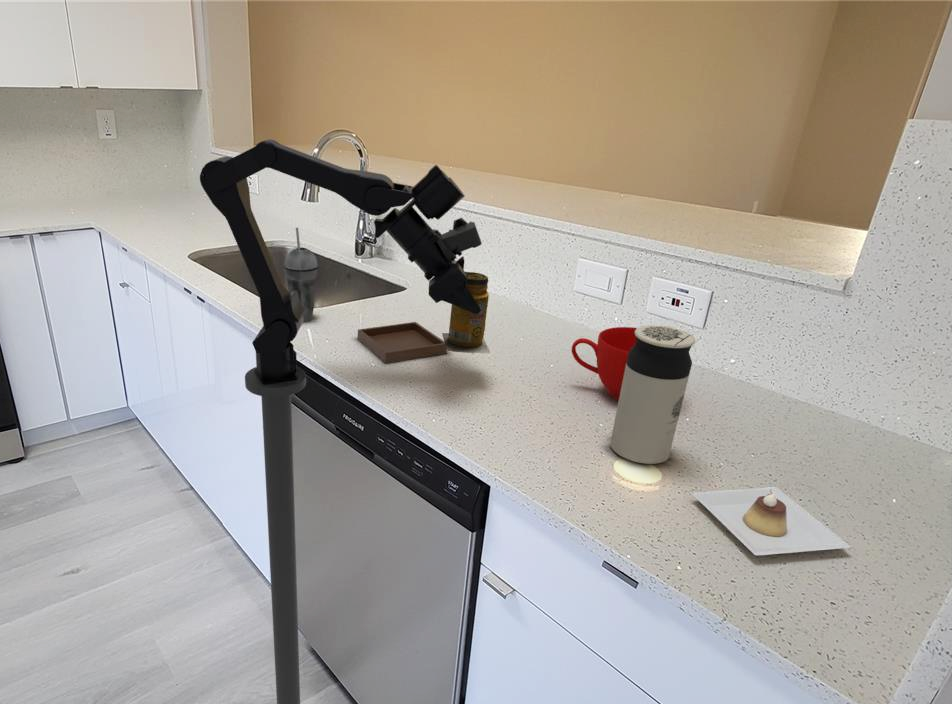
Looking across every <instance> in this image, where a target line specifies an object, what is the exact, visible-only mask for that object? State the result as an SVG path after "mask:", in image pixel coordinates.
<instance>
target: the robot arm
mask: <svg viewBox="0 0 952 704" xmlns="http://www.w3.org/2000/svg"><path fill="white" fill-rule="evenodd" d="M264 169H272V170H273V171H277V172H279V173H282V174H284V175H287V176H290V177H293V178H296V179H297V180H301V181H304V182H307V183H308V184H311V185H314V186H317V187H319V188H321V189H325V190H327V191H330V192H332V193H334V194H337V195H339V196H340V197H342V198H343V199H344V200H346V201H347V202H348V203H350V204H351V205H353V206H354V207H356V208H357V209H359V210H361V211H362V212H364V213H366V214H368V215H370V216H374V217H375V216H381V215H383V214H386V213H387V212H388V213H387V214H386V215H385V216H384V217H383V218H375V219H374V221H373V224H374V238H376V239H379V238H380V237H381V236H382V235H383V234H384V233H385V232H387V233H388V235H389V236H390V237H391V238H392V239H393V240H394V241H395V242H396V244H397V245H398V246H399V247H400V248H401V249H402V250H403V252H405V254H406V255H407V259H408V261H410V262H411V263H414V264H415V265H416V266H417V267H418V268H419V269H420V270H421V271H422V272H423V274H424V275H423V276H424V278H425V279H426V280H427V281H428V296H429V297H430V298H431V299H432V300H433V301H434V303H435V304H438V303H439V302H445V303H447V304H451V306H452V305H455V306H457V307H460V308H462V309H465V310H467V311H469V312H472V313H474V314H478V313H479V312H481V309H480V307H479V305H478V304H477V302H476V300H475V299H474V297H473V295H472V294H471V292H470V291H469V289H468V287H467V286H466V284H467V277H468V276H467V272H468V271H465V258H464V256H462V255H463V252H464V251H467V250H469V249H472V248H473V249H475V248H478V247H479V246H482V240H481V238H480V234H479V232H478V229H477V227H476V226H477V225H476V223H475V221H469V222H467V220H465V219H464V218H463V217H459V218H457V219H454V220H453V222H452V223H453V224H452V229H449V230H448V231H447V232H444V233H441V232H440V230H438V229H436V228H432V227H431V226H430V224H428V223H427V221H426V220H428V221H429V220H434V219H436V220H440V219H441V218H442V217H444V216H445V215H446V214H447V213H448V212H449V211H450V210H452V209H453V208H454V207H455V206H456V205H457V204H458V203H459V202H461V201H462V200H463V199H464V198H465V197H466V196H465V194H464V193H463V191H462V190H461V188H460V187H459V186H458V185H457V184H456V182H455V181H454V180H453V179H452V178H451V177H450V176H448V175H447V174H446V173H445V171H443V170H442V169H441V168H440V167H439V165H438V164H434V165H433V166H432V167H431V168H430V169H429V170H428V172H427V173H426V174H425V175H424V176H423V177H422V178H421V179H420V180H419V181H418V182H417V183H415V185H408V184H404V183H403V184H402V183H398V182H393V180H392V179H391V178H390V177H389V176H387V175H385V174H382V173H377V172H372V171H367V170H361V169H360V170H358V169H351V168H346V167H342V166H339V165H337V164H333V163H331V162H329V161H326V160H323V159H321V158H319V157H316V156H313V155H310V154H308V153H305V152H302V151H300V150H297V149H295V148H292V147H289V146H286V145H284V144H281V143H280V142H278V141H277V140H275V139H270V138H269V139H264V140H262V141H260V142H258V143H257V144H256V145H255V146H253V147H251V148H249V149H247V150H246V151H243V152H242V153H240V154H239V153H238V155H235V156H234V157H232V156H222V157H219V158H216V159H213V160H210V161H208V162H207V163H205V165H204V166H202V168H201V172H200V174H199V182H200V186H201V188H202V189H203V191H204V192H205V194H206V195H207V197H208V198H209V200H210V202H211V204H212V205H213V206H214V207H215V208H216V209H217V210H218V211H219V212H220V213H221V215H222V216H223V217H224V218H225V220H226V221H227V224H228V226H229V229H230V231H231V233H232V235H233V237H234V241H235V243H236V245H237V247H238V249H239V252H240V254H241V257H242V259H243V261H244V264H245V266H246V269H247V271H248V273H249V275H250V278H251V280H252V282H253V285H254V288H255V289H256V291H257V294H258V298H259V305H260V316H261V321H262V324H263V325H262V327H261V329H260V330H259V332H258V333H257V335H256V336H255V337H254V339H253V341H252V344H251V345H252V346H253V348H254V350H255V360H256V361H255V365H256V366H255V367H257V369H254V372H255V374H256V375H257V377H258V378H259V380H260V381H261V383H262V384H263V385H267V384H273V383H280V382H286V381H292V380H297V376H296V374H295V373H296V372H297V367H298V363H297V361H298V360H297V352H296V350H295V349H294V344H293V343H292V341H293V340H295V338H296V337H297V335H298V332H300V329H301V327H302V325H303V323H304V322H303V319H304V316H303V313H304V311H305V308H304V307H303V306H302V305H301V303H300V300H299V296H298V292H297V290H295V291H293V292H291V293H289V291H288V289H287V288H286V287H285V286H284V284H283V283H282V280H281V277H280V275H279V273H278V271H277V268H276V265H275V263H274V261H273V258H272V256H271V254H270V252H269V249H268V246H267V244H266V242H265V239H264V237H263V235H262V232H261V230H260V227H259V224H258V222H257V219H256V218H255V215H254V212H253V210H252V205H251V195H250V185H249V181H248V178H249V177H251V176H253V175H255V174H257V173H259V172H261V171H263V170H264ZM414 206H415V207H416V208H417V209H418V210H419V212H420V213H421V214H422V215H423V216H424V217H425V218H426V220H425V219H424V218H423V217H422V215H420V214H419V212H418V211H417V210H416V209H415V208H414ZM396 207H397V208H396ZM398 207H402V208H401V209H398ZM391 208H393V209H392V210H391ZM390 210H391V211H390ZM389 211H390V212H389ZM457 256H458V257H460V256H461V257H460V258H458V259H457ZM456 259H457V260H456Z"/></svg>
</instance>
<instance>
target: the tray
mask: <svg viewBox="0 0 952 704" xmlns="http://www.w3.org/2000/svg"><path fill="white" fill-rule="evenodd" d="M357 340H358V341H359V342H361V343H362V344H363V345H364V346H365V347H366V349H368V350H369V351H370V352H372V353H373V354H374V355H375V356H377V357H378V358H379V359H380V360H381V362H383V363H384V364H389V363H390V364H391V363H397V362H403V361H409V360H414V359H420V358H427V357H433V356H439V355H446V354H448V351H447V348H446V345H445V342H444V339H442V338H440V337H438V336H437V335H436V334H434V333H433V332H431V331H430V330H428V329H427V328H425V327H424V326H423V325H421V324H419V323H418V322H417V321H410V322H404V323H397V324H396V323H395V324H388V325H381V326H374V327H373V326H372V327H368V328H361V329H357Z"/></svg>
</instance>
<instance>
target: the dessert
mask: <svg viewBox="0 0 952 704" xmlns="http://www.w3.org/2000/svg"><path fill="white" fill-rule="evenodd" d="M691 495H692V496H693V497H695V499H696V500H697V501H698V502H700V504H701V505H702V506H703V507H704V508H706V509H707V510H708V511H709V512H710V513H711V515H713V516H714V517H715V518H716V519H717V520H718V521H719V522H720V523H721V524H722V525H723V526H724V527H725V528H726V529H727V530H728V531H729V532H730V533H731V534H732V535H733V536H734V537H736V539H738V541H739V542H741V543H742V544H743V546H744V547H746V548H747V549H748V550H749V551H750V553H752V554H753V555H754V556H757V557H758V556H768V555H780V554H781V555H783V554H794V553H803V552H804V553H805V552H816V551H817V552H818V551H829V550H840V549H850V548H852V546H851V545H849V544H848V543H847V542H846V541H844V539H842V538H841V537H840V536H838V535H837V534H835V532H834V531H832V530H831V529H829V528H828V527H827V526H826V525H825V524H823V523H822V522H821V521H819V519H817V518H816V517H814V516H813V515H812V514H811V513H809V512H808V511H807V510H806V509H805V508H803V507H802V506H801V505H800V504H798V503H797V502H796V501H795V500H793V499H792V498H791V497H790V496H788V495H787V494H786V493H785V492H783V491H782V490H781V489H779V487H777V486H769V487H768V486H767V487H755V488H754V487H753V488H739V489H738V488H737V489H725V490H724V489H723V490H709V491H694V492H691Z"/></svg>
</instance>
